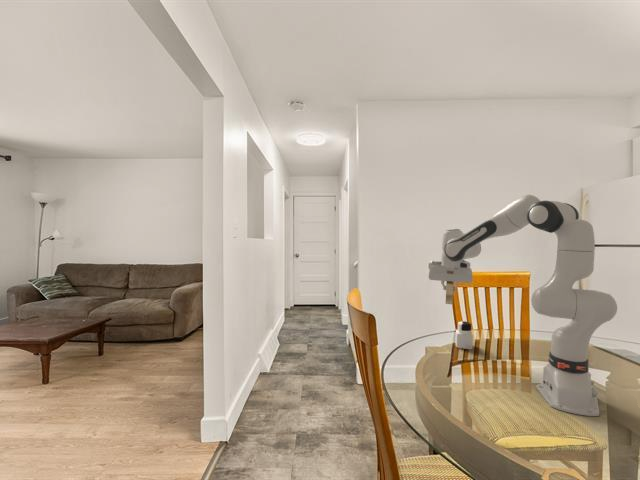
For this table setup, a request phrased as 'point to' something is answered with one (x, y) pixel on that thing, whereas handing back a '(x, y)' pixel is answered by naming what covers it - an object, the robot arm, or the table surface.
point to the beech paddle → (449, 290)
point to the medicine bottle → (464, 335)
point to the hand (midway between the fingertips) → (449, 290)
